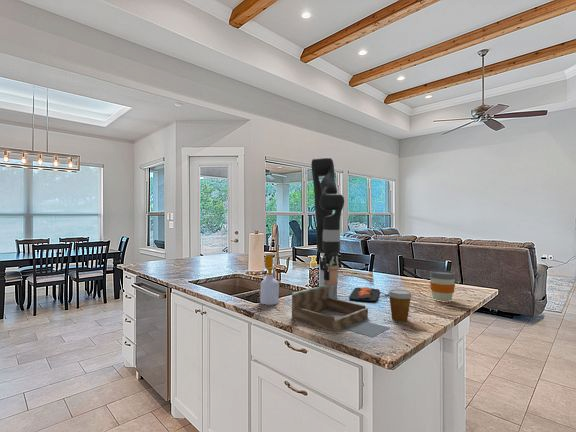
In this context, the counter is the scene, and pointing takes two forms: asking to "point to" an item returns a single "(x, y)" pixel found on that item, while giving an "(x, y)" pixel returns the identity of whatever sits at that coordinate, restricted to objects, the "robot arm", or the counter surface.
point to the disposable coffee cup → (399, 304)
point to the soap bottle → (269, 284)
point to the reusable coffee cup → (442, 284)
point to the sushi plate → (365, 294)
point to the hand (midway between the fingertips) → (330, 279)
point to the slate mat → (367, 328)
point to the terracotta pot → (332, 275)
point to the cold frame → (317, 300)
